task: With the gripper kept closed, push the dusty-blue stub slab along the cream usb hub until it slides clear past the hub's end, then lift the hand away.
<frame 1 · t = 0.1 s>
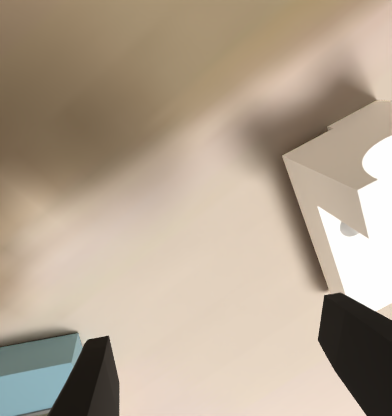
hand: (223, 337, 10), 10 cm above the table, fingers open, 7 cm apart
bracket: (344, 206, 21), on the table
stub: (34, 378, 19), point 1 cm above the table, slide at 0.0 cm
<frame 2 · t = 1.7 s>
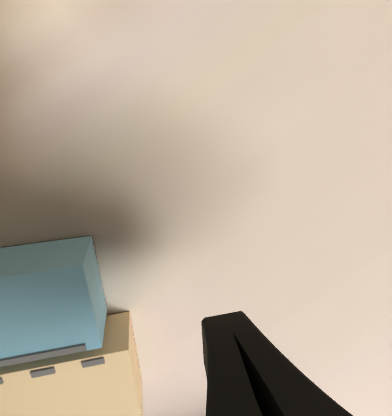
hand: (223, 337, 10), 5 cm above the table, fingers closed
cream usb hub: (26, 369, 15), on the table
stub: (20, 303, 12), point 1 cm above the table, slide at 0.0 cm
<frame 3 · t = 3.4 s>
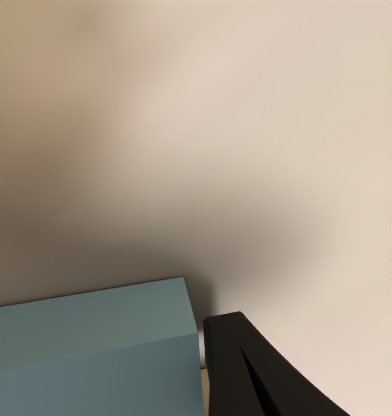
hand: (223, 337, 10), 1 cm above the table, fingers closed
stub: (94, 373, 9), point 1 cm above the table, slide at 1.1 cm, touching gripper
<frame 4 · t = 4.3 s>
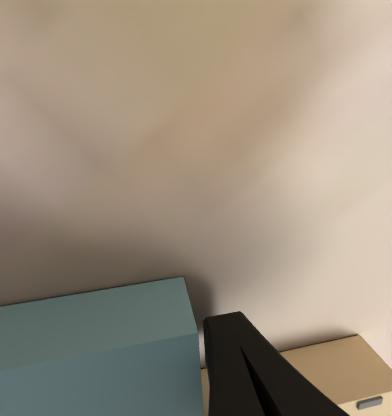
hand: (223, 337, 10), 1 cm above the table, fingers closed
cream usb hub: (236, 403, 13), on the table
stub: (94, 373, 9), point 1 cm above the table, slide at 6.3 cm, touching gripper
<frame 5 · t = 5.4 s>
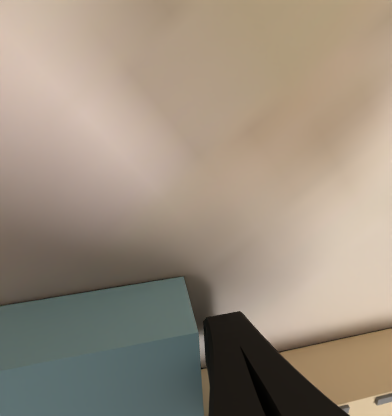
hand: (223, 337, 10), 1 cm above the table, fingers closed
cream usb hub: (294, 389, 13), on the table
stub: (94, 373, 9), point 1 cm above the table, slide at 9.0 cm, touching gripper
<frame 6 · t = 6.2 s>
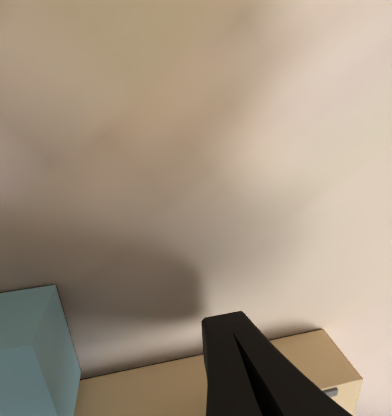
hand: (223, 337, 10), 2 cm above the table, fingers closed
cream usb hub: (203, 396, 13), on the table
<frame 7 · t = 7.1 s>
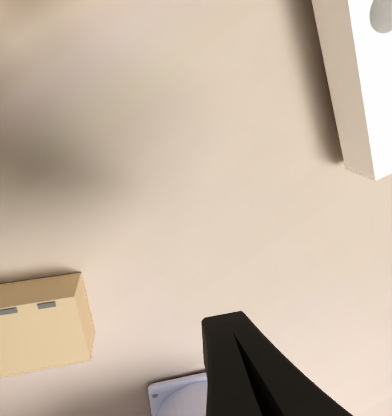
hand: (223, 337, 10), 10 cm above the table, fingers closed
bracket: (366, 42, 17), on the table
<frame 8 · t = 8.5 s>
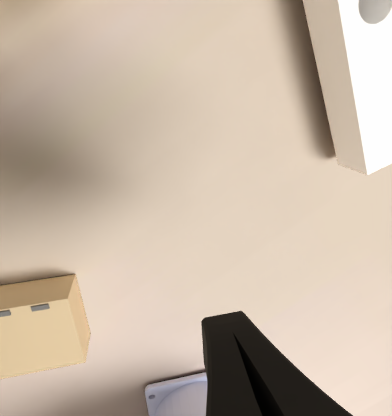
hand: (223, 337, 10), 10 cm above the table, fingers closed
bracket: (358, 35, 17), on the table
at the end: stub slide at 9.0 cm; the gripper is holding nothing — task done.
